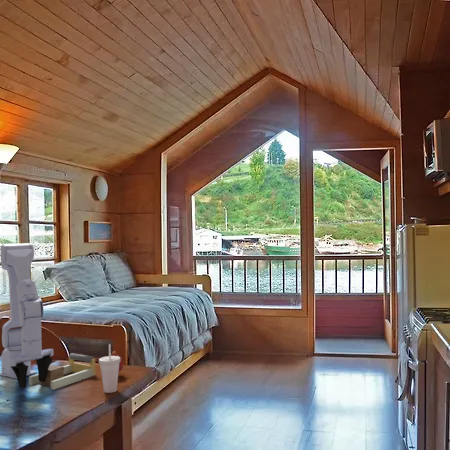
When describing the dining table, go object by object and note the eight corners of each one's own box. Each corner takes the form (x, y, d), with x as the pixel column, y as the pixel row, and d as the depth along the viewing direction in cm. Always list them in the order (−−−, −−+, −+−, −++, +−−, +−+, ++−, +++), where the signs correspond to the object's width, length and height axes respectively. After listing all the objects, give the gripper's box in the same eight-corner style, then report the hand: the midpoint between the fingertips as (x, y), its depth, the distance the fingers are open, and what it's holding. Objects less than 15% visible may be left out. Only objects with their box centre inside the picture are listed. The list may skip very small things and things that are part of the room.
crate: (40, 384, 164) (39, 368, 164) (53, 379, 169) (53, 364, 169) (50, 386, 161) (50, 370, 161) (64, 382, 166) (63, 366, 166)
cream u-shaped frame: (29, 384, 165) (28, 364, 165) (72, 370, 179) (72, 352, 179) (53, 389, 159) (52, 369, 158) (96, 374, 173) (96, 356, 173)
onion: (119, 378, 168) (118, 354, 168) (102, 378, 169) (101, 353, 169) (126, 373, 174) (125, 349, 174) (109, 373, 175) (109, 349, 175)
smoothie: (101, 395, 152) (100, 347, 152) (97, 389, 158) (96, 343, 158) (123, 392, 154) (122, 344, 154) (118, 386, 160) (117, 340, 160)
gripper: (19, 345, 151) (20, 393, 151) (59, 336, 163) (60, 379, 163) (4, 343, 154) (5, 389, 154) (44, 334, 167) (45, 376, 167)
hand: (32, 384), depth 159 cm, fingers open, 6 cm apart
